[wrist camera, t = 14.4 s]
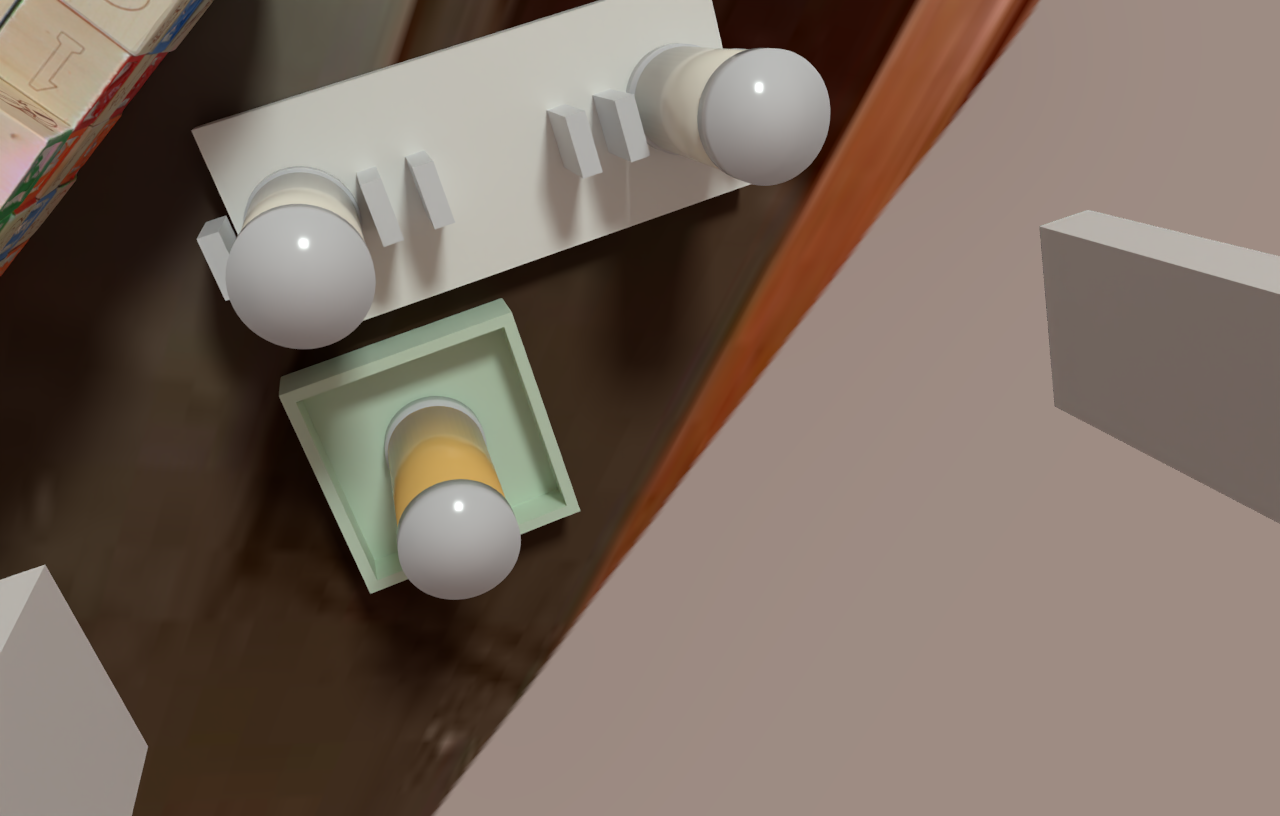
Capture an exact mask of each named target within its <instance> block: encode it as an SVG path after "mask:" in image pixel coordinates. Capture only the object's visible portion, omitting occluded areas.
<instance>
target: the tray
mask: <svg viewBox="0 0 1280 816" xmlns="http://www.w3.org/2000/svg"><path fill="white" fill-rule="evenodd" d="M429 396H444V397H449V398H452V399H455V400H457V401H460V402H462V403H463V404H465V405H466V406H467V407H469V408H470V409H471V410H472V411H473V412H474V413H475V415H476V416H477V418H478V419H479V421H480V424H481V426H482V429H483V431H484V434H485V437H486V443H487V449H488V452H489V454H490V457H491V460H492V463H493V465H494V468H495V471H496V474H497V476H498V479H499V482H500V484H501V487H502V490H503V493H504V495H505V498H506V500H507V501H508V503H509V504H510V506H511V508H512V510H513V512H514V515H515V517H516V520H517V523H518V526H519V529H520V535H521V534H523V533H526V532H528V531H531V530H533V529H536V528H538V527H541V526H543V525H546V524H548V523H551V522H553V521H556V520H559V519H561V518H564V517H566V516H569V515H571V514H574V513H576V512H579V511H580V508H579V506H578V503H577V500H576V497H575V494H574V491H573V488H572V485H571V482H570V480H569V477H568V474H567V471H566V468H565V465H564V462H563V459H562V456H561V454H560V451H559V448H558V445H557V442H556V439H555V436H554V433H553V430H552V428H551V425H550V422H549V419H548V416H547V413H546V410H545V407H544V404H543V402H542V399H541V396H540V393H539V390H538V387H537V384H536V381H535V378H534V376H533V373H532V370H531V367H530V364H529V361H528V358H527V355H526V352H525V349H524V347H523V344H522V341H521V338H520V335H519V332H518V329H517V326H516V323H515V321H514V318H513V315H512V312H511V311H510V309H509V308H508V306H507V305H506V303H505V302H504V300H503V299H502V298H500V299H497V300H495V301H492V302H489V303H486V304H483V305H481V306H478V307H475V308H472V309H469V310H467V311H464V312H461V313H458V314H455V315H453V316H450V317H447V318H444V319H441V320H439V321H436V322H433V323H430V324H427V325H425V326H422V327H419V328H416V329H413V330H410V331H408V332H405V333H402V334H399V335H396V336H394V337H391V338H388V339H385V340H382V341H380V342H377V343H374V344H371V345H368V346H366V347H363V348H360V349H357V350H354V351H352V352H349V353H346V354H343V355H340V356H338V357H335V358H332V359H329V360H326V361H324V362H321V363H318V364H315V365H312V366H310V367H307V368H304V369H301V370H298V371H295V372H293V373H290V374H287V375H284V376H281V377H280V387H279V398H280V400H281V402H282V404H283V406H284V409H285V411H286V413H287V415H288V417H289V419H290V421H291V424H292V426H293V428H294V430H295V432H296V434H297V437H298V439H299V441H300V443H301V445H302V447H303V450H304V452H305V454H306V456H307V458H308V460H309V463H310V465H311V467H312V469H313V471H314V473H315V475H316V478H317V480H318V482H319V484H320V486H321V488H322V491H323V493H324V495H325V497H326V499H327V501H328V504H329V506H330V508H331V510H332V512H333V514H334V517H335V519H336V521H337V523H338V525H339V527H340V529H341V532H342V534H343V536H344V538H345V540H346V542H347V545H348V547H349V549H350V551H351V553H352V555H353V558H354V560H355V562H356V564H357V566H358V568H359V570H360V573H361V575H362V577H363V579H364V581H365V583H366V586H367V588H368V590H369V592H370V594H371V593H374V592H377V591H379V590H382V589H384V588H387V587H389V586H392V585H394V584H397V583H399V582H402V581H404V580H407V579H408V578H407V576H406V575H405V573H404V571H403V570H402V567H401V564H400V561H399V556H398V549H397V538H396V534H397V520H396V513H395V506H394V498H393V491H392V484H391V476H390V470H389V468H388V466H387V462H386V457H385V450H384V438H385V433H386V429H387V427H388V425H389V423H390V421H391V419H392V418H393V417H394V415H395V414H396V413H397V412H398V411H399V410H400V409H401V408H403V407H404V406H405V405H407V404H408V403H410V402H412V401H414V400H417V399H420V398H423V397H429Z"/></svg>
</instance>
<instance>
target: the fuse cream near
mask: <svg viewBox="0 0 1280 816" xmlns="http://www.w3.org/2000/svg"><path fill="white" fill-rule="evenodd" d="M225 280H226V288H227V292H228V296H229V299H230V302H231V304H232V306H233V308H234V310H235V312H236V313H237V315H238V316H239V317H240V319H241V320H242V321H243V323H244V324H245V325H246V326H247V327H248V328H249V329H251V330H252V331H253V332H254V333H256V334H257V335H258V336H260V337H262V338H263V339H265V340H267V341H269V342H271V343H274V344H276V345H280V346H283V347H287V348H293V349H314V348H320V347H324V346H327V345H331V344H333V343H335V342H337V341H340V340H341V339H343V338H344V337H346V336H348V335H349V334H350V333H351V332H353V331H354V330H355V329H356V328H357V327H358V326H359V325H360V324H361V322H362V321H363V320H364V318H365V317H366V315H367V313H368V311H369V309H370V307H371V304H372V302H373V298H374V294H375V284H376V280H375V271H374V266H373V261H372V257H371V255H370V252H369V249H368V247H367V245H366V243H365V241H364V237H363V222H362V217H361V213H360V209H359V207H358V204H357V202H356V200H355V198H354V196H353V195H352V193H351V192H350V190H349V189H348V188H347V187H346V186H345V185H344V184H343V183H342V182H341V181H340V180H339V179H337V178H336V177H334V176H333V175H331V174H329V173H327V172H325V171H323V170H320V169H317V168H312V167H305V166H294V167H287V168H284V169H280V170H278V171H276V172H273V173H272V174H270V175H268V176H267V177H265V178H264V179H263V180H262V181H261V182H260V183H259V184H258V185H257V186H256V187H255V189H254V190H253V192H252V193H251V195H250V197H249V199H248V202H247V205H246V208H245V212H244V217H243V226H242V229H241V231H240V233H239V234H238V236H237V237H236V239H235V241H234V243H233V245H232V248H231V251H230V254H229V257H228V260H227V265H226V277H225Z"/></svg>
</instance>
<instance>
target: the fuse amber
mask: <svg viewBox="0 0 1280 816" xmlns="http://www.w3.org/2000/svg"><path fill="white" fill-rule="evenodd" d="M384 450H385V457H386V462H387V466H388V468H389V470H390V476H391V484H392V491H393V498H394V506H395V513H396V520H397V534H396V538H397V549H398V556H399V561H400V564H401V567H402V570H403V571H404V573H405V575H406V576H407V578H408V579H409V580H410V582H411V583H413V584H414V585H415V586H416V587H417V588H418V589H420V590H421V591H423V592H425V593H427V594H429V595H432V596H434V597H438V598H442V599H450V600H458V599H467V598H471V597H475V596H478V595H481V594H483V593H485V592H487V591H489V590H491V589H492V588H494V587H495V586H497V585H498V584H499V583H500V582H502V581H503V580H504V579H505V578H506V577H507V575H508V574H509V573H510V571H511V570H512V568H513V567H514V565H515V563H516V561H517V558H518V555H519V552H520V546H521V535H520V529H519V526H518V523H517V520H516V517H515V515H514V512H513V510H512V508H511V506H510V504H509V503H508V501H507V500H506V498H505V495H504V493H503V490H502V487H501V484H500V482H499V479H498V476H497V474H496V471H495V468H494V465H493V463H492V460H491V457H490V454H489V452H488V449H487V443H486V437H485V434H484V431H483V429H482V426H481V424H480V421H479V419H478V418H477V416H476V415H475V413H474V412H473V411H472V410H471V409H470V408H469V407H467V406H466V405H465V404H463V403H462V402H460V401H457V400H455V399H452V398H449V397H444V396H429V397H423V398H420V399H417V400H414V401H412V402H410V403H408V404H407V405H405V406H404V407H403V408H401V409H400V410H399V411H398V412H397V413H396V414H395V415H394V417H393V418H392V419H391V421H390V423H389V425H388V427H387V429H386V433H385V438H384Z"/></svg>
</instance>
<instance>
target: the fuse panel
mask: <svg viewBox="0 0 1280 816" xmlns="http://www.w3.org/2000/svg"><path fill="white" fill-rule="evenodd" d="M673 43H682V44H693V45H697V46H700V47H705V48H721V49H723V48H722V43H721V39H720V35H719V30H718V26H717V21H716V17H715V13H714V8H713V4H712V0H599V1H595V2H592V3H589V4H586V5H583V6H579V7H576V8H573V9H570V10H567V11H564V12H560V13H557V14H554V15H551V16H548V17H544V18H541V19H538V20H535V21H532V22H528V23H525V24H522V25H519V26H516V27H512V28H509V29H506V30H503V31H500V32H497V33H493V34H490V35H487V36H484V37H481V38H477V39H474V40H471V41H468V42H465V43H461V44H458V45H455V46H452V47H449V48H446V49H442V50H439V51H436V52H433V53H430V54H426V55H423V56H420V57H417V58H414V59H410V60H407V61H404V62H401V63H398V64H394V65H391V66H388V67H385V68H382V69H379V70H375V71H372V72H369V73H366V74H363V75H359V76H356V77H353V78H350V79H347V80H343V81H340V82H337V83H334V84H331V85H327V86H324V87H321V88H318V89H315V90H312V91H308V92H305V93H302V94H299V95H296V96H292V97H289V98H286V99H283V100H280V101H276V102H273V103H270V104H267V105H264V106H261V107H257V108H254V109H251V110H248V111H245V112H241V113H238V114H235V115H232V116H229V117H225V118H222V119H219V120H216V121H213V122H209V123H206V124H203V125H200V126H197V127H195V128H194V129H192V130H191V131H192V133H193V136H194V138H195V140H196V142H197V145H198V147H199V149H200V151H201V153H202V156H203V158H204V160H205V162H206V165H207V167H208V169H209V171H210V173H211V176H212V178H213V180H214V182H215V185H216V187H217V189H218V191H219V194H220V196H221V198H222V200H223V202H224V205H225V207H226V209H227V211H228V214H229V216H230V218H231V220H232V223H233V225H234V227H235V229H236V231H237V234H239V233H240V231H241V229H242V226H243V217H244V212H245V208H246V205H247V202H248V199H249V197H250V195H251V193H252V192H253V190H254V189H255V187H256V186H257V185H258V184H259V183H260V182H261V181H262V180H263V179H264V178H265V177H267V176H268V175H270V174H272V173H273V172H276V171H278V170H280V169H284V168H287V167H294V166H305V167H312V168H317V169H320V170H323V171H325V172H327V173H329V174H331V175H333V176H334V177H336V178H337V179H339V180H340V181H341V182H342V183H343V184H344V185H345V186H346V187H347V188H348V189H349V190H350V192H351V193H352V195H353V196H354V198H355V200H356V202H357V204H358V207H359V209H360V213H361V217H362V222H363V237H364V241H365V243H366V245H367V247H368V249H369V252H370V255H371V257H372V261H373V266H374V271H375V280H376V284H375V294H374V298H373V302H372V304H371V307H370V309H369V311H368V313H367V315H366V317H365V318H364V320H367V319H369V318H372V317H375V316H378V315H381V314H384V313H386V312H389V311H392V310H395V309H398V308H401V307H403V306H406V305H409V304H412V303H415V302H418V301H420V300H423V299H426V298H429V297H432V296H435V295H438V294H440V293H443V292H446V291H449V290H452V289H455V288H457V287H460V286H463V285H466V284H469V283H472V282H474V281H477V280H480V279H483V278H486V277H489V276H491V275H494V274H497V273H500V272H503V271H506V270H508V269H511V268H514V267H517V266H520V265H523V264H526V263H528V262H531V261H534V260H537V259H540V258H543V257H545V256H548V255H551V254H554V253H557V252H560V251H562V250H565V249H568V248H571V247H574V246H577V245H579V244H582V243H585V242H588V241H591V240H594V239H596V238H599V237H602V236H605V235H608V234H611V233H614V232H616V231H619V230H622V229H625V228H628V227H631V226H633V225H636V224H639V223H642V222H645V221H648V220H650V219H653V218H656V217H659V216H662V215H665V214H667V213H670V212H673V211H676V210H679V209H682V208H684V207H687V206H690V205H693V204H696V203H699V202H702V201H704V200H707V199H710V198H713V197H716V196H719V195H721V194H724V193H727V192H730V191H733V190H736V189H738V188H741V187H744V186H747V185H750V183H747V182H744V181H741V180H738V179H736V178H733V177H731V176H729V175H727V174H726V173H724V172H723V171H721V170H720V169H717V168H714V167H711V166H709V165H706V164H703V163H700V162H697V161H695V160H692V159H689V158H686V157H684V156H681V155H673V154H669V153H666V152H663V151H660V150H657V149H655V148H653V147H651V146H649V145H648V144H647V141H646V137H645V134H644V130H643V126H642V122H641V119H640V115H639V111H638V108H637V104H636V100H635V96H634V94H630V93H626V88H627V84H628V80H629V78H630V75H631V73H632V71H633V69H634V68H635V66H636V65H637V64H638V62H639V61H640V60H641V59H642V58H643V57H644V56H645V55H646V54H647V53H649V52H650V51H652V50H654V49H655V48H657V47H660V46H662V45H666V44H673ZM734 49H736V48H734ZM737 50H748V49H737ZM235 239H236V236H235V233H234V231H233V229H232V227H231V225H230V222H229V220H228V218H227V216H223V217H220V218H217V219H214V220H211V221H208V222H206V223H205V225H204V226H203V228H202V230H201V232H200V234H199V235H198V237H197V241H198V243H199V246H200V248H201V250H202V252H203V254H204V256H205V258H206V261H207V263H208V265H209V267H210V269H211V271H212V273H213V276H214V278H215V280H216V282H217V284H218V286H219V288H220V291H221V293H222V295H223V297H224V299H225V301H227V300H230V299H229V296H228V292H227V288H226V280H225V277H226V265H227V260H228V257H229V254H230V251H231V248H232V245H233V243H234V241H235ZM364 320H363V321H364Z"/></svg>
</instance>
